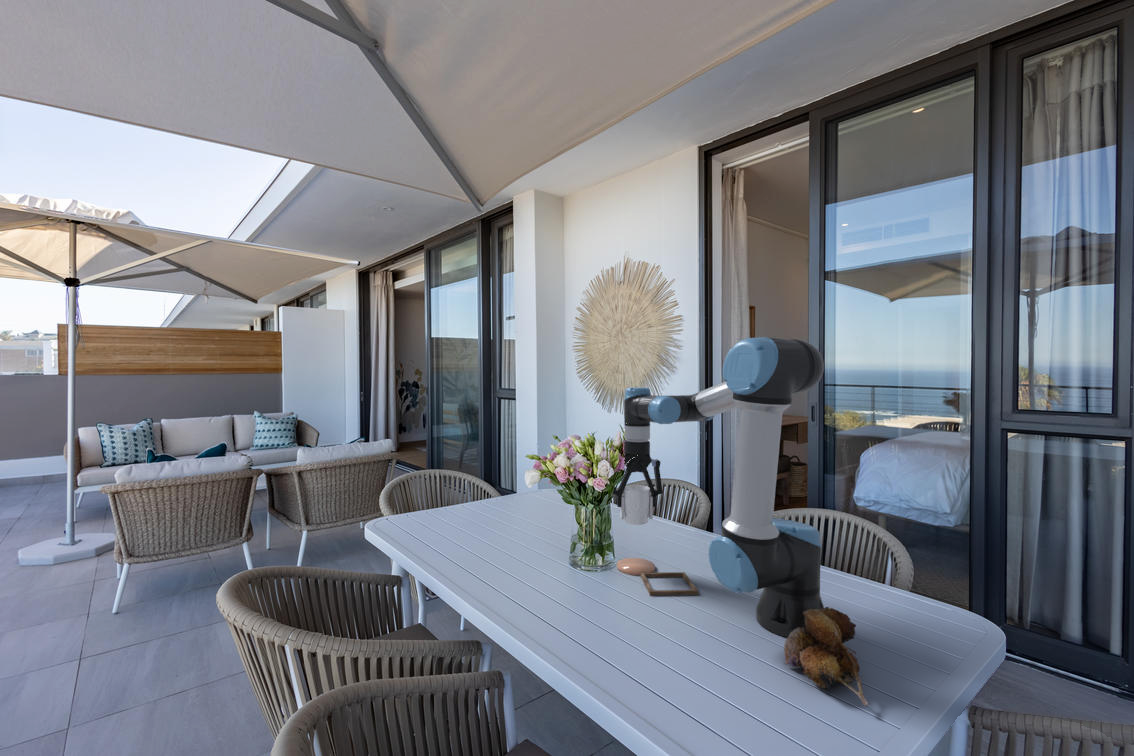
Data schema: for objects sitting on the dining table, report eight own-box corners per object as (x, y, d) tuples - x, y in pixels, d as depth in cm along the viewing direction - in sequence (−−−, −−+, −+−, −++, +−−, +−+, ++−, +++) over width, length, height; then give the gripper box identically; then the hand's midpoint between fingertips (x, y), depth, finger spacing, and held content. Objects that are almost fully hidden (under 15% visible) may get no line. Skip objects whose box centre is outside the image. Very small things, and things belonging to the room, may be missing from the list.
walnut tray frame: (698, 594, 132) (698, 591, 132) (650, 595, 131) (650, 591, 131) (684, 575, 144) (684, 572, 144) (640, 576, 144) (640, 572, 144)
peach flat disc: (658, 575, 145) (658, 571, 145) (620, 575, 144) (620, 572, 144) (650, 561, 156) (650, 557, 156) (614, 561, 155) (614, 558, 155)
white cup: (648, 518, 153) (649, 485, 153) (650, 526, 146) (650, 491, 145) (622, 517, 154) (622, 484, 154) (622, 525, 146) (623, 490, 146)
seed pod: (888, 635, 99) (808, 592, 107) (888, 654, 85) (798, 604, 94) (861, 698, 99) (784, 650, 107) (858, 727, 85) (770, 670, 94)
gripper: (668, 438, 154) (667, 514, 154) (600, 438, 153) (600, 514, 153) (674, 441, 146) (674, 521, 147) (603, 441, 145) (603, 521, 146)
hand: (636, 517), depth 150 cm, fingers closed on white cup, 8 cm apart
